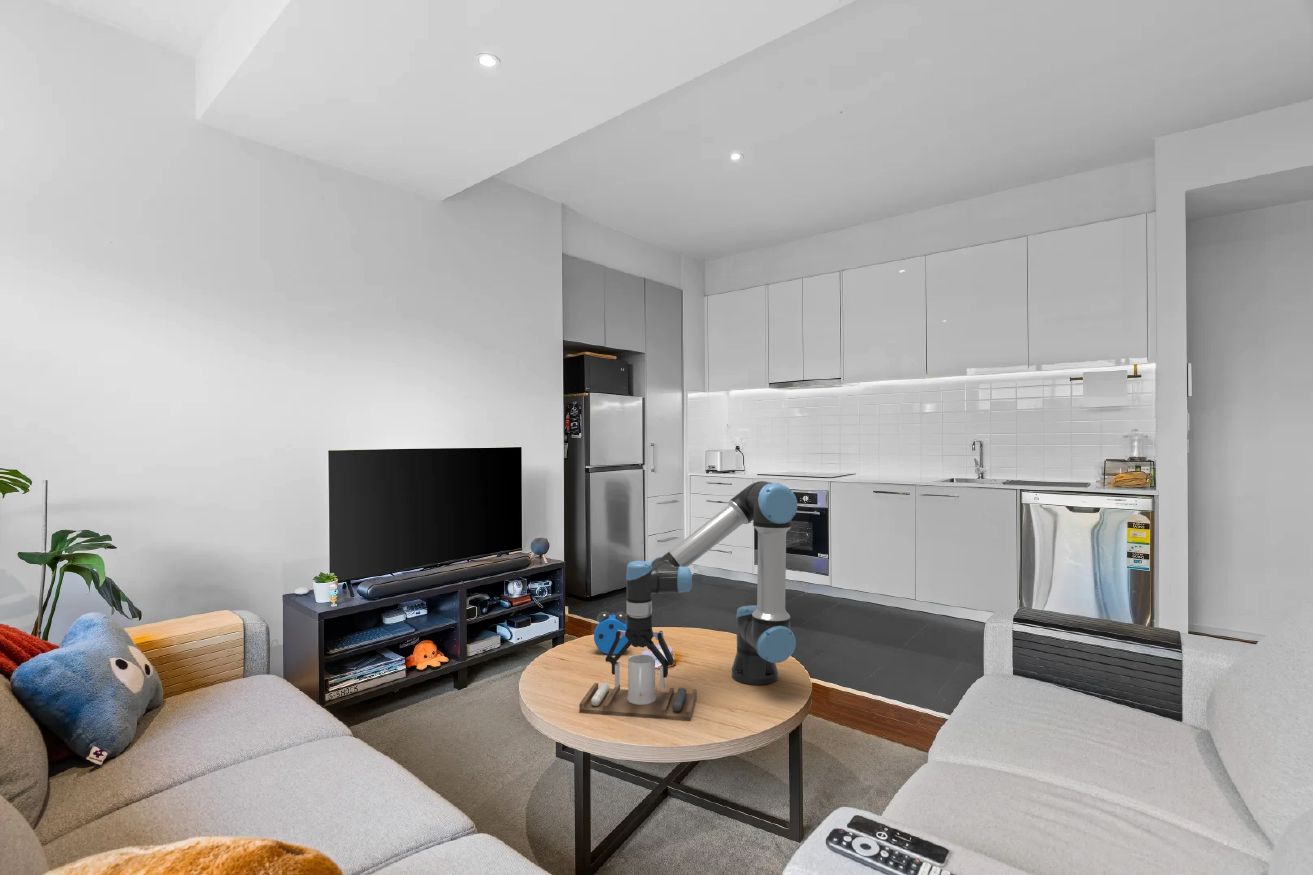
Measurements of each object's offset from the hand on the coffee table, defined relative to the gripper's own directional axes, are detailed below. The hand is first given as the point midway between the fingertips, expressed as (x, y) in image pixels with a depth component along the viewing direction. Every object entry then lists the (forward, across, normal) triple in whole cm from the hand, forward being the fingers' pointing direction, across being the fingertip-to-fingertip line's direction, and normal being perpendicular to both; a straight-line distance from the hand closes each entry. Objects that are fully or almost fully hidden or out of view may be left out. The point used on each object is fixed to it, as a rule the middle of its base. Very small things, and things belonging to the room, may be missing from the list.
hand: (639, 686), depth 184 cm
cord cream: (+4, +12, 0) cm, 13 cm away
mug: (+4, 0, 0) cm, 5 cm away
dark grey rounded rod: (+4, -12, 0) cm, 13 cm away
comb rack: (+5, 0, 0) cm, 5 cm away
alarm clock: (+6, +19, -43) cm, 47 cm away
